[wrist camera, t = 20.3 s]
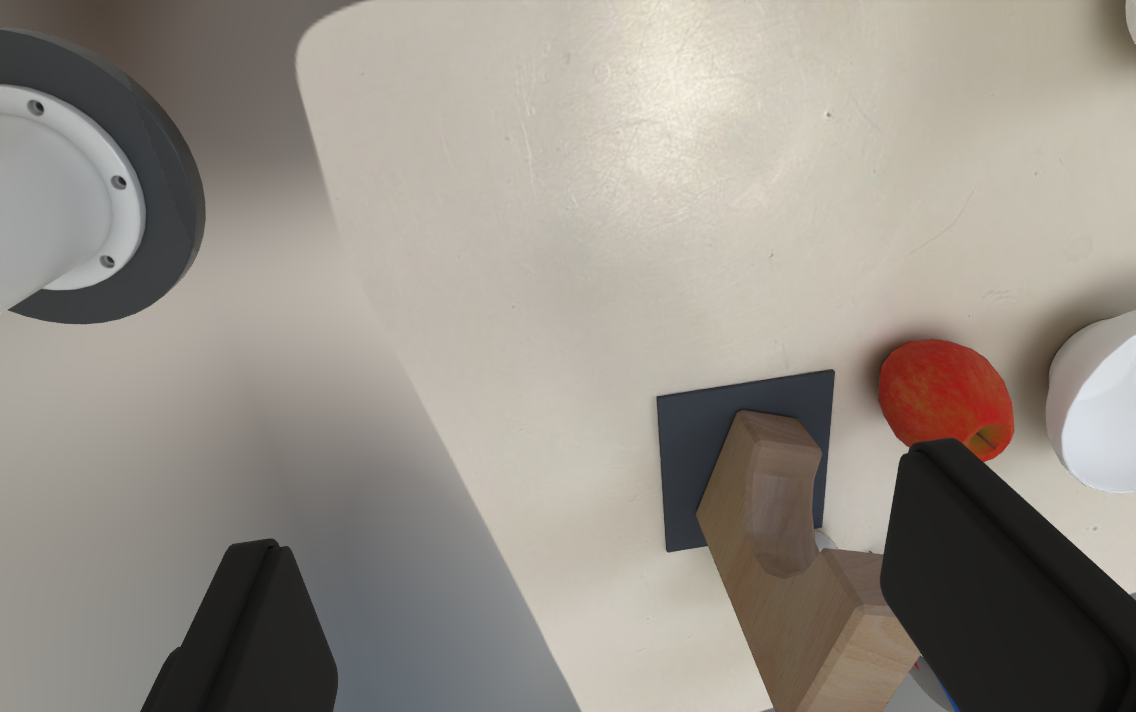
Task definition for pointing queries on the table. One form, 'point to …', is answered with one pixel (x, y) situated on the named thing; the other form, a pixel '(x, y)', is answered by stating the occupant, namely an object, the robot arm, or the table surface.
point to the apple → (946, 397)
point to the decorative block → (798, 577)
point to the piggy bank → (1131, 18)
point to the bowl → (1096, 404)
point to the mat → (702, 427)
